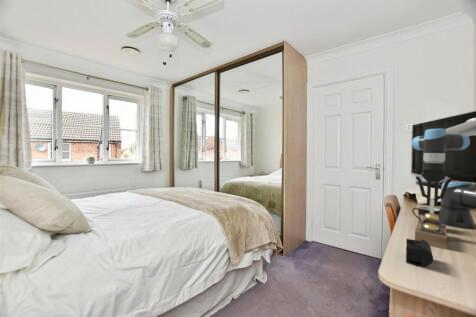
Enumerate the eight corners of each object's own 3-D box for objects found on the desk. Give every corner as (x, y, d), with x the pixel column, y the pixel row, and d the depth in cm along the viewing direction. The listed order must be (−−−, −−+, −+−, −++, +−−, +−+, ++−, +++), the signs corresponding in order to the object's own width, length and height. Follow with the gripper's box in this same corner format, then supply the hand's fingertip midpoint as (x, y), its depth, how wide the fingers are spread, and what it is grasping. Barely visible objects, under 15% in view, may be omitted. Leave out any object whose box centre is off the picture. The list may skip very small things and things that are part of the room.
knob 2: (423, 228, 100) (423, 222, 100) (438, 230, 96) (438, 225, 96) (422, 230, 96) (423, 225, 96) (438, 233, 93) (438, 228, 93)
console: (418, 230, 111) (418, 218, 111) (445, 235, 104) (446, 222, 104) (414, 242, 96) (415, 228, 96) (446, 249, 90) (446, 234, 89)
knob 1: (424, 217, 108) (425, 212, 108) (438, 219, 104) (439, 214, 104) (424, 219, 104) (424, 214, 104) (438, 222, 101) (439, 217, 101)
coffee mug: (443, 231, 110) (444, 211, 110) (423, 230, 112) (423, 210, 112) (428, 223, 122) (428, 205, 121) (410, 222, 123) (410, 204, 123)
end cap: (432, 270, 74) (433, 250, 73) (406, 263, 78) (406, 244, 78) (430, 259, 81) (431, 240, 81) (406, 253, 86) (406, 236, 86)
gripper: (415, 162, 105) (413, 211, 106) (453, 163, 96) (451, 217, 97) (416, 161, 111) (414, 208, 111) (452, 162, 102) (450, 213, 103)
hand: (431, 212), depth 104 cm, fingers closed
